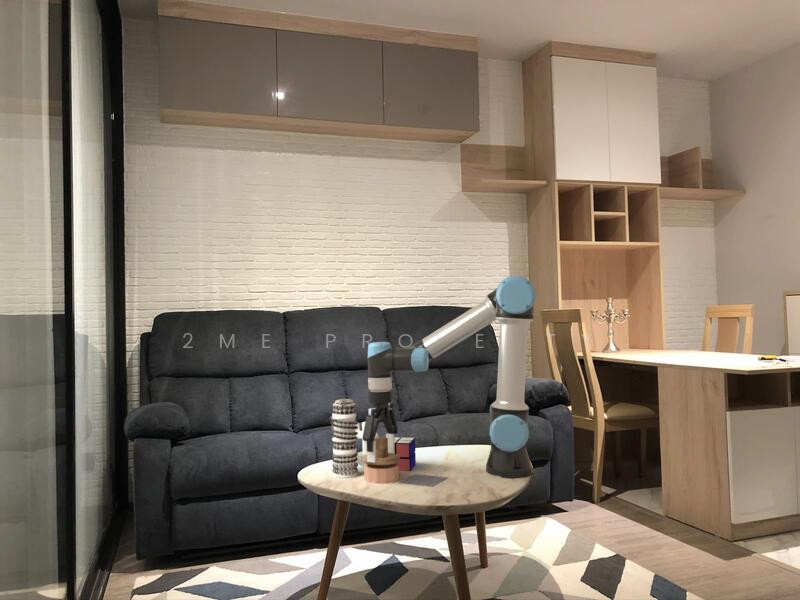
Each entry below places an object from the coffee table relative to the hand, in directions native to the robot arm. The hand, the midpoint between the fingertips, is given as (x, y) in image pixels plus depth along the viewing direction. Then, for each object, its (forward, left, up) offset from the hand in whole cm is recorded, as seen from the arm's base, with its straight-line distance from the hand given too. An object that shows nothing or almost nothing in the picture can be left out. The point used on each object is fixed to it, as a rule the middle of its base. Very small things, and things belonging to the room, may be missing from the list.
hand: (381, 457), depth 214 cm
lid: (0, 0, -1) cm, 1 cm away
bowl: (0, 0, -7) cm, 7 cm away
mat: (-13, -4, -7) cm, 15 cm away
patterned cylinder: (+15, -2, -7) cm, 17 cm away
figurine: (+16, -18, -7) cm, 25 cm away
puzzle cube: (+2, -16, -8) cm, 18 cm away
